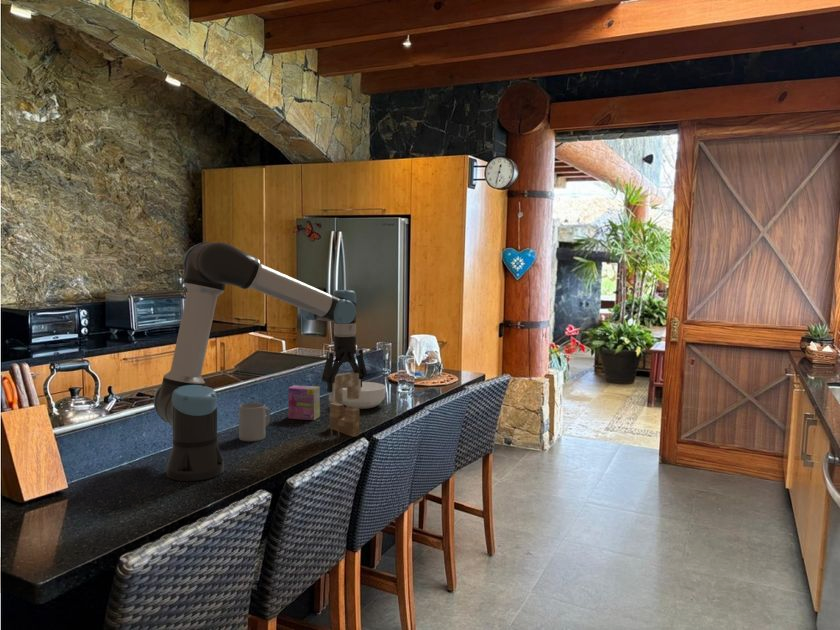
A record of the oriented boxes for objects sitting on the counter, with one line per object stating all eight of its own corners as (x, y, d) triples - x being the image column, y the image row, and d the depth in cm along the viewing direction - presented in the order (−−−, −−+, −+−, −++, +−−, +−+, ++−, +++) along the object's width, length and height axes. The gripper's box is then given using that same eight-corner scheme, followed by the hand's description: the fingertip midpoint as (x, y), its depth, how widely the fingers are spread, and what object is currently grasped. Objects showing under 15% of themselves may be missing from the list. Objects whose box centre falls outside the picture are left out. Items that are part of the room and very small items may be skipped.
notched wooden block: (353, 436, 216) (353, 410, 215) (329, 428, 226) (329, 403, 226) (359, 435, 218) (359, 409, 217) (335, 427, 228) (335, 402, 227)
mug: (252, 443, 207) (251, 409, 206) (233, 438, 211) (233, 406, 210) (278, 434, 217) (278, 402, 216) (260, 430, 221) (260, 399, 220)
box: (288, 418, 239) (288, 387, 238) (294, 415, 244) (294, 384, 243) (314, 420, 236) (314, 389, 235) (320, 417, 242) (320, 386, 241)
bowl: (366, 414, 247) (366, 393, 246) (326, 407, 257) (326, 387, 256) (394, 405, 264) (394, 385, 263) (356, 399, 274) (356, 379, 273)
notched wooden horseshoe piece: (334, 402, 217) (334, 376, 216) (330, 401, 219) (330, 375, 218) (358, 398, 224) (358, 373, 223) (354, 397, 226) (354, 372, 225)
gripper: (323, 338, 209) (323, 406, 211) (377, 333, 224) (377, 396, 226) (310, 336, 214) (310, 401, 216) (364, 331, 229) (364, 393, 232)
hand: (344, 399), depth 221 cm, fingers closed on notched wooden horseshoe piece, 10 cm apart
